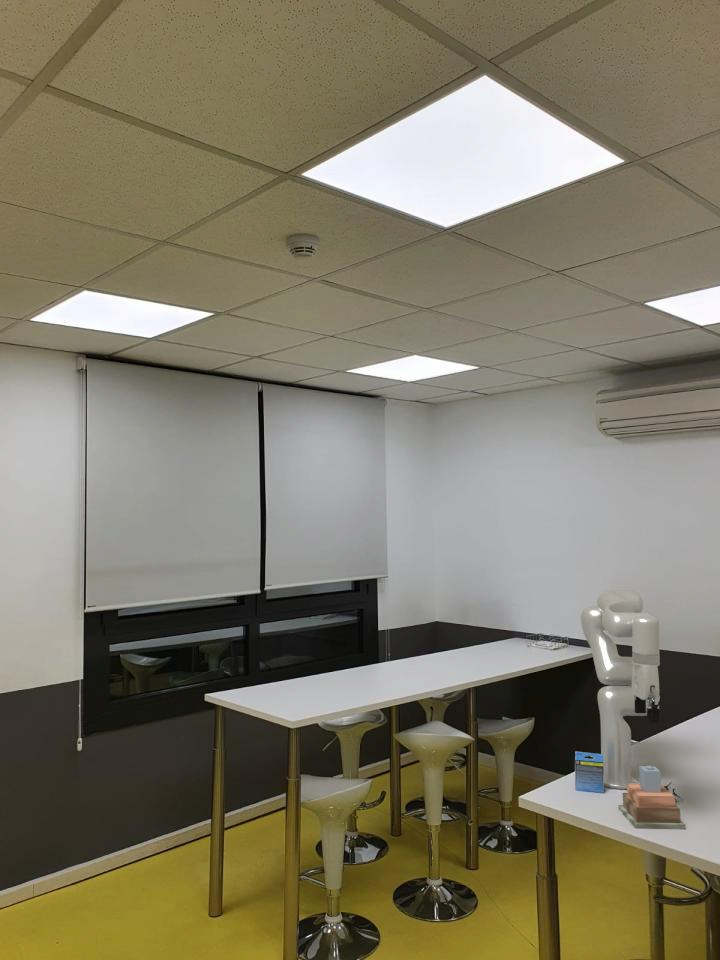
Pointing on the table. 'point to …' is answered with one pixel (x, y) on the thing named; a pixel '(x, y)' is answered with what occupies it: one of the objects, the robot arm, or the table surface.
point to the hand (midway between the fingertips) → (646, 717)
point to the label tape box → (589, 772)
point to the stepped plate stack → (651, 809)
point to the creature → (673, 791)
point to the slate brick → (650, 779)
